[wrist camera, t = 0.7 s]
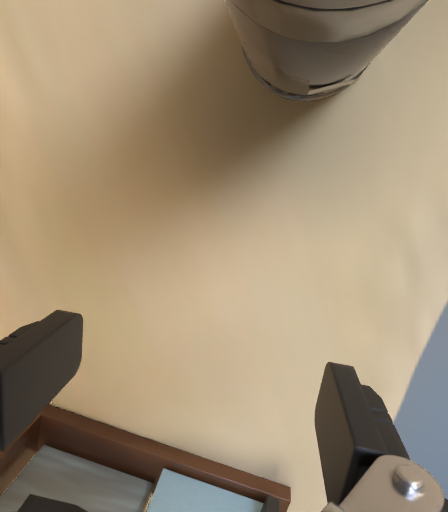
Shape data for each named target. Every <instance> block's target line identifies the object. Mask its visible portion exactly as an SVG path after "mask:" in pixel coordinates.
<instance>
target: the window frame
mask: <svg viewBox="0 0 448 512" xmlns="http://www.w3.org/2000/svg"><path fill="white" fill-rule="evenodd" d="M34 455H35V456H34ZM33 456H34V457H33ZM32 457H33V458H32ZM29 461H30V462H29ZM28 462H29V463H28ZM27 463H28V464H27ZM24 467H25V468H24ZM23 468H24V469H23ZM163 468H164V469H167V470H170V471H173V472H176V473H179V474H181V475H184V476H187V477H190V478H193V479H196V480H199V481H201V482H204V483H207V484H210V485H213V486H216V487H219V488H222V489H224V490H227V491H230V492H233V493H236V494H239V495H242V496H244V497H247V498H250V499H253V500H256V501H259V502H262V503H264V502H265V499H266V496H267V495H268V496H271V497H274V498H276V499H279V500H280V509H279V512H286V511H287V509H288V506H289V504H290V502H291V491H290V488H289V487H286V486H283V485H281V484H278V483H275V482H272V481H269V480H266V479H263V478H260V477H257V476H254V475H251V474H249V473H246V472H243V471H240V470H237V469H234V468H231V467H228V466H225V465H222V464H219V463H216V462H214V461H211V460H208V459H205V458H202V457H199V456H196V455H193V454H190V453H187V452H184V451H182V450H179V449H176V448H173V447H170V446H167V445H164V444H161V443H158V442H155V441H152V440H149V439H147V438H144V437H141V436H138V435H135V434H132V433H129V432H126V431H123V430H120V429H117V428H114V427H112V426H109V425H106V424H103V423H100V422H97V421H94V420H91V419H88V418H85V417H82V416H80V415H77V414H74V413H71V412H68V411H65V410H62V409H59V408H56V407H53V406H50V405H47V406H46V407H45V408H44V409H43V410H42V411H41V412H40V413H39V414H38V415H37V416H36V417H35V419H34V420H33V421H32V422H31V423H30V424H29V425H28V426H27V427H26V428H25V429H24V430H23V431H22V433H21V434H20V435H19V436H18V437H17V438H16V439H15V440H14V441H13V442H12V443H11V444H10V445H9V447H8V448H7V449H6V450H5V451H4V452H3V451H0V496H1V497H0V512H16V511H18V510H19V508H20V507H21V506H22V504H23V503H24V501H25V500H26V499H27V497H28V496H29V495H30V494H33V495H37V496H41V497H45V498H49V499H54V500H58V501H62V502H66V503H70V504H75V505H77V506H79V507H81V508H82V509H84V510H86V511H88V512H144V510H145V508H146V505H147V502H148V500H149V497H150V495H151V493H154V491H155V488H156V486H157V483H158V480H159V478H160V475H161V473H162V470H163ZM19 473H20V474H19ZM18 474H19V475H18ZM15 478H16V479H15ZM14 479H15V480H14ZM13 480H14V481H13ZM10 484H11V485H10ZM9 485H10V486H9ZM8 486H9V487H8ZM5 490H6V491H5ZM4 491H5V492H4ZM3 492H4V493H3Z"/></svg>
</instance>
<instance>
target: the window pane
mask: <svg viewBox="0 0 448 512" xmlns="http://www.w3.org/2000/svg"><path fill="white" fill-rule="evenodd" d="M279 509H280V500H279V499H276V498H274V497H271V496H268V495H267V496H266V499H265V502H264V503H262V502H259V501H256V500H253V499H250V498H247V497H244V496H242V495H239V494H236V493H233V492H230V491H227V490H224V489H222V488H219V487H216V486H213V485H210V484H207V483H204V482H201V481H199V480H196V479H193V478H190V477H187V476H184V475H181V474H179V473H176V472H173V471H170V470H167V469H164V468H163V470H162V473H161V475H160V478H159V480H158V483H157V486H156V488H155V491H154V493H153V496H152V498H151V501H150V504H149V506H148V509H147V511H146V512H279Z"/></svg>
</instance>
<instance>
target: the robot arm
mask: <svg viewBox="0 0 448 512" xmlns="http://www.w3.org/2000/svg"><path fill="white" fill-rule="evenodd" d="M427 1H428V0H224V2H225V4H226V7H227V9H228V11H229V14H230V16H231V19H232V21H233V24H234V26H235V29H236V31H237V34H238V36H239V38H240V41H241V44H242V48H243V52H244V55H245V57H246V60H247V62H248V64H249V66H250V68H251V70H252V72H253V73H254V75H255V76H256V77H257V79H258V80H259V81H260V82H261V83H262V84H263V85H264V86H265V87H266V88H268V89H269V90H270V91H272V92H273V93H275V94H277V95H279V96H281V97H284V98H287V99H291V100H296V101H313V100H319V99H323V98H326V97H329V96H331V95H334V94H336V93H338V92H339V91H341V90H343V89H344V88H346V87H347V86H349V85H350V84H352V83H355V82H356V81H357V80H358V77H359V76H360V75H361V74H362V72H363V71H364V70H365V69H366V68H367V66H368V65H369V64H370V62H371V61H372V60H373V59H374V58H375V57H376V56H377V55H378V54H379V52H380V51H381V50H382V49H383V48H384V47H385V46H386V45H387V44H388V43H389V42H390V41H391V40H392V39H393V38H394V36H395V35H396V34H397V33H398V32H399V31H400V30H401V29H402V28H403V27H404V26H405V25H406V24H407V23H408V22H409V20H410V19H411V18H412V17H413V16H414V15H415V14H416V13H417V12H418V11H419V10H420V9H421V8H422V7H423V5H424V4H425V3H426V2H427ZM82 337H83V317H82V315H81V314H78V313H73V312H67V311H62V310H56V311H54V312H53V313H51V314H50V315H49V316H47V317H46V318H44V319H43V320H41V321H40V322H39V321H37V322H34V323H31V324H28V325H25V326H23V327H20V328H19V329H17V330H16V331H14V332H13V333H11V334H10V335H9V337H5V338H4V339H2V340H1V341H0V451H3V452H4V451H5V450H6V449H7V448H8V447H9V445H10V444H11V443H12V442H13V441H14V440H15V439H16V438H17V437H18V436H19V435H20V434H21V433H22V431H23V430H24V429H25V428H26V427H27V426H28V425H29V424H30V423H31V422H32V421H33V420H34V419H35V417H36V416H37V415H38V414H39V413H40V412H41V411H42V410H43V409H44V408H45V407H46V406H47V405H48V403H49V402H50V401H51V400H52V399H53V398H54V397H55V396H56V395H57V394H58V393H59V392H60V391H61V389H62V388H63V387H64V386H65V385H66V384H67V383H68V382H69V381H70V380H71V379H72V378H73V377H74V375H75V374H76V372H77V371H78V368H79V366H80V363H81V358H82ZM315 429H316V435H317V441H318V447H319V453H320V460H321V466H322V472H323V478H324V484H325V490H326V496H327V502H328V504H327V505H326V506H325V508H324V509H323V510H322V511H321V512H448V500H447V499H446V498H444V493H443V491H442V489H441V487H440V485H439V484H438V482H437V481H436V480H435V478H434V477H433V476H432V475H431V474H430V473H429V472H428V471H426V470H425V469H424V468H423V467H421V466H420V465H418V464H416V463H415V462H413V461H411V460H410V458H409V456H408V454H407V452H406V450H405V447H404V445H403V443H402V441H401V439H400V437H399V434H398V432H397V430H396V428H395V426H394V425H393V422H392V419H391V417H390V415H389V414H388V411H387V409H386V407H385V405H384V402H383V400H382V398H381V397H380V396H379V395H378V394H377V393H376V392H375V391H374V390H373V389H372V388H371V387H370V386H366V385H361V384H360V382H359V379H358V377H357V374H356V372H355V369H354V367H353V366H348V365H343V364H338V363H332V362H328V363H327V364H326V367H325V370H324V375H323V379H322V383H321V387H320V391H319V395H318V399H317V403H316V409H315ZM16 512H88V511H86V510H84V509H82V508H81V507H79V506H77V505H75V504H70V503H66V502H62V501H58V500H54V499H49V498H45V497H41V496H37V495H33V494H30V495H29V496H28V497H27V499H26V500H25V501H24V503H23V504H22V506H21V507H20V508H19V510H18V511H16Z"/></svg>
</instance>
